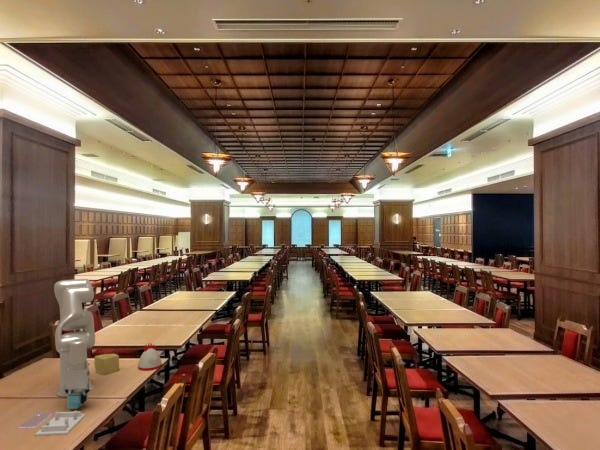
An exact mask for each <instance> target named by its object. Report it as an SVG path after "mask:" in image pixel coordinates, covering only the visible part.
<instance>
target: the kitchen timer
mask: <svg viewBox="0 0 600 450" xmlns="http://www.w3.org/2000/svg"><path fill="white" fill-rule="evenodd" d="M142 348H143V350H144V351H143V352H142V354H141V355H140V357H139V360H138V364H137V367H138V368H137V369H138V370H139V371H143V372H144V371H145V372H150V371H155V370H158V369H160V368H162V359H161V356H160V354H159V352H158V351H157V350H156V349H157V345H155V344H152V343H148V344H145V345H144V346H143V347H142Z"/></svg>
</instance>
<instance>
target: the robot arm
mask: <svg viewBox="0 0 600 450" xmlns="http://www.w3.org/2000/svg"><path fill="white" fill-rule="evenodd" d="M53 292H54V295H55V296H54V297H55V298H56V300H57V303H58V305H59V319H60V320H59V321H60V322H59V323H58V325H57V327H56V329H55V332H54V335H55V336H54V339H55V341H54V342H55V350H56V352H57V353H59V368H60V369H59V379H60V380H59V381H60V382H59V385H60V386H59V390H58V391H57V392H56V396H58V397H61V398H62V397H63V398H64V397H65V398H67V396H68V395H69V394H70V393H72V392H73V391H74V390H82V393H83V395H82V405H83V404H85V403H86V402H87V401H88V399H87V393H90V391H91V390H93V389H94V387H95V386H94V384H92V382H91V373H90V372H91V371H90V368H89V366H90V365H91V364H90V362H88V360H87V358H88V349H91V348H93V347H94V346H95V343H96V333H95V319H94V315H93V312H92V311H91V310H90V311H89V310H84V309H83V303H90V302H92V301H93V300H94V298H95V297H94V296H95V292H94V287H93V285H92V282H91V280H90V279H88V278H76V279H63V280H58V281H57V282H56V283H54V285H53ZM76 330H77V331H76ZM78 330H82V331H78ZM63 331H65V332H67V331H74V332H67V333H64V334H62V333H63ZM87 387H89V388H88V389H87Z"/></svg>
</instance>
